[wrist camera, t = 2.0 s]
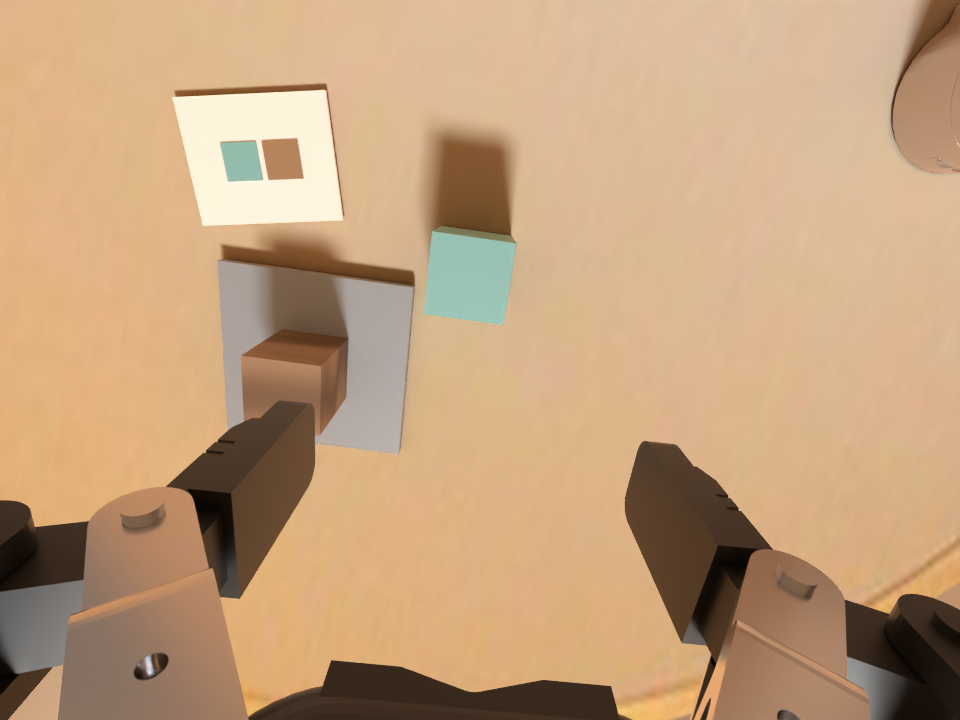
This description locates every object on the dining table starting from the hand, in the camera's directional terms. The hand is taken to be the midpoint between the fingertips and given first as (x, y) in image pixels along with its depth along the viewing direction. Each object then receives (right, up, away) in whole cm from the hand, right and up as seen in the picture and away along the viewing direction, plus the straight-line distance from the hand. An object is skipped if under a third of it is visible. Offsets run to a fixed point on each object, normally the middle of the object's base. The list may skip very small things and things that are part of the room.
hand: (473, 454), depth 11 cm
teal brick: (0, +9, +22) cm, 24 cm away
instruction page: (-15, +16, +19) cm, 29 cm away
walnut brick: (-13, +2, +24) cm, 27 cm away
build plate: (-13, +2, +24) cm, 27 cm away
